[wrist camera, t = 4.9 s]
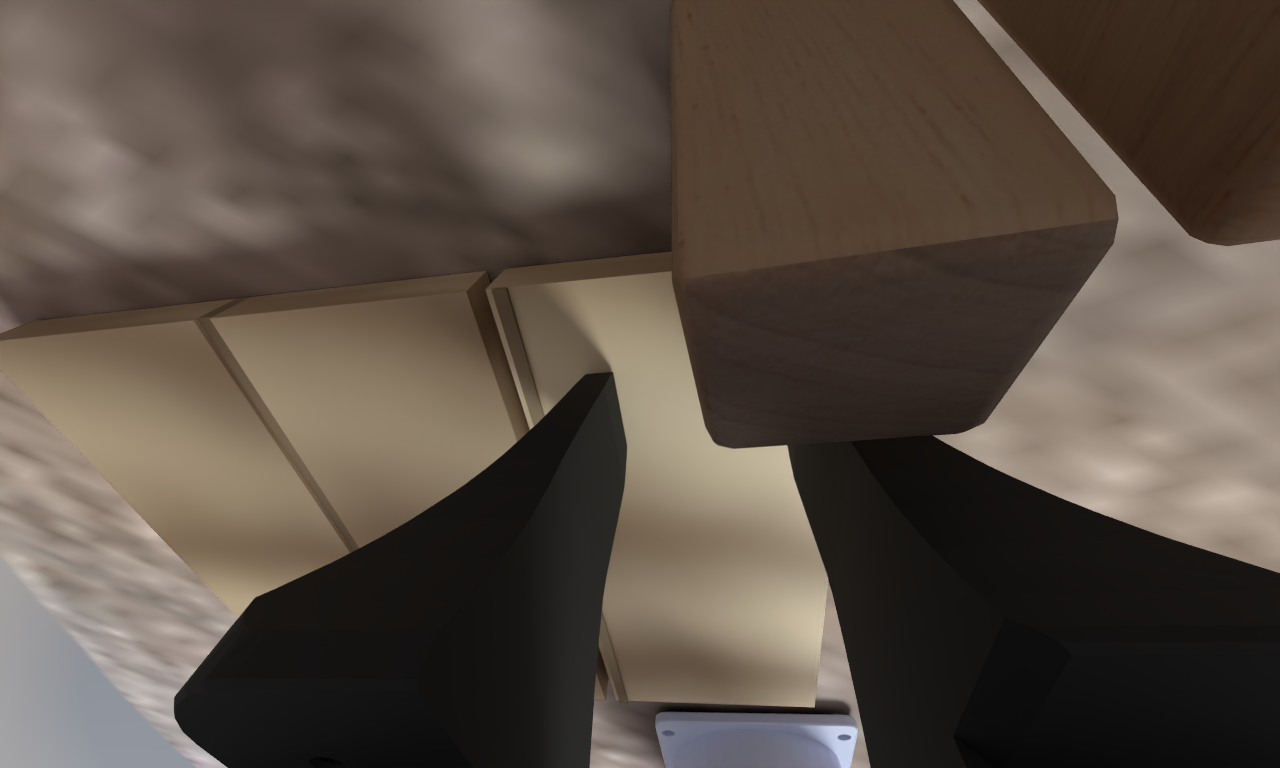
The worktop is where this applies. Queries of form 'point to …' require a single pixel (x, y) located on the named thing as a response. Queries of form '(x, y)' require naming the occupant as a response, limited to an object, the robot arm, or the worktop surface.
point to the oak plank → (673, 496)
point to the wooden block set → (933, 191)
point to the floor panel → (280, 417)
